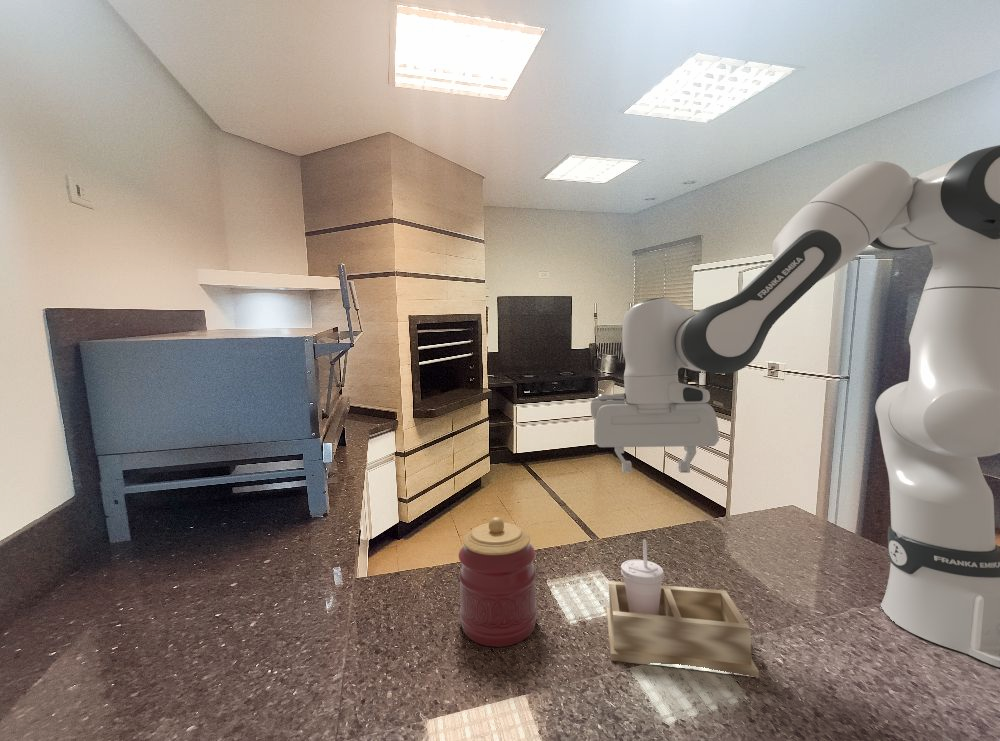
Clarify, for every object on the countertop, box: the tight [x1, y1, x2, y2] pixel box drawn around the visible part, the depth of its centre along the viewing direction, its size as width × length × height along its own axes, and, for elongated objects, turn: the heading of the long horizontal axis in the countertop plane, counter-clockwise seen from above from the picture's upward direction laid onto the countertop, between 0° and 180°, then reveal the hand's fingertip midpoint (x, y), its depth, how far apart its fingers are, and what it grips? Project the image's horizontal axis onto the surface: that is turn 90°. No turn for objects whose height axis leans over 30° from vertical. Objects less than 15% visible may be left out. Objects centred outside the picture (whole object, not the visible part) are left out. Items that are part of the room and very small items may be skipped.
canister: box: [457, 516, 538, 648], centre depth 66 cm, size 13×13×18 cm
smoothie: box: [620, 539, 665, 615], centre depth 62 cm, size 6×6×14 cm
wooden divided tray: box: [605, 580, 760, 678], centre depth 60 cm, size 19×12×6 cm, turn 78°
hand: (655, 472), depth 68 cm, fingers open, 8 cm apart
